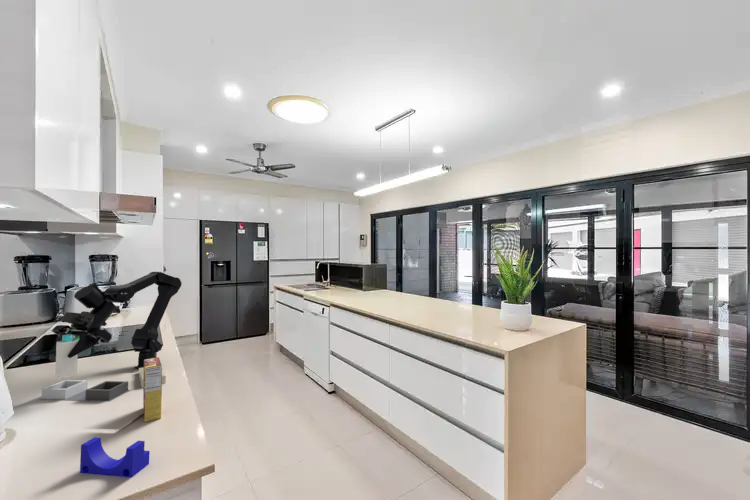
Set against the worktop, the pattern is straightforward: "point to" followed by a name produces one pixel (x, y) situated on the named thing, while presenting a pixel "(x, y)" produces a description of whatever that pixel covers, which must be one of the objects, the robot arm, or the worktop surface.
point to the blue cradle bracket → (102, 464)
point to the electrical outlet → (141, 376)
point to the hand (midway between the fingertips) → (62, 356)
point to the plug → (65, 357)
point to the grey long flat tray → (84, 391)
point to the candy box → (152, 389)
